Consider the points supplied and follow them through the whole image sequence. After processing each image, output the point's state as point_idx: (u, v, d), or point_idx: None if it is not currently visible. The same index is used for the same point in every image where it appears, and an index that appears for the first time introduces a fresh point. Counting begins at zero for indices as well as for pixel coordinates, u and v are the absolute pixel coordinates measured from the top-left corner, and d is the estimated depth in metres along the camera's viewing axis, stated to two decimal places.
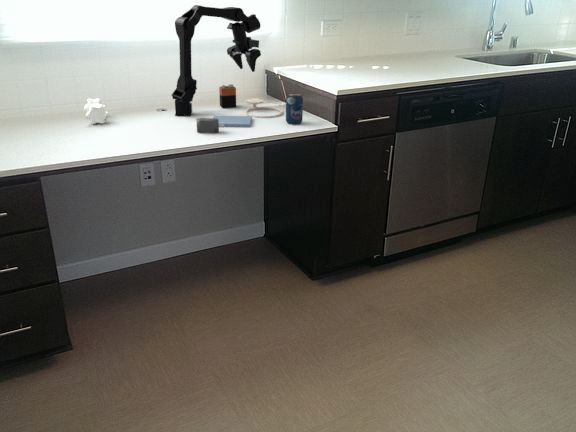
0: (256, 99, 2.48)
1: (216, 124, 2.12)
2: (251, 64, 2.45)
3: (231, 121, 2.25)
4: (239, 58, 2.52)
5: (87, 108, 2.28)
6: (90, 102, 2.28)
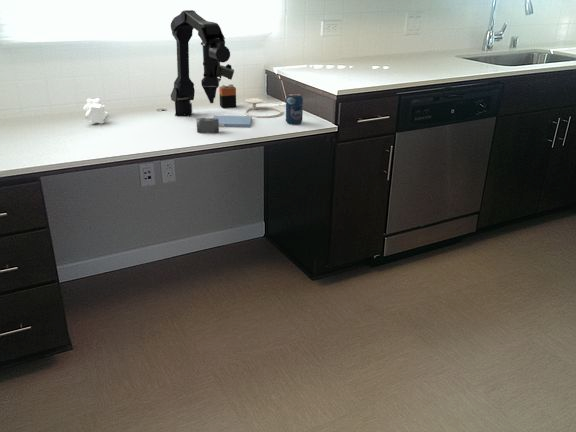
0: (255, 99, 2.48)
1: (216, 124, 2.12)
2: (208, 93, 2.03)
3: (231, 121, 2.25)
4: None
5: (87, 108, 2.28)
6: (90, 102, 2.27)
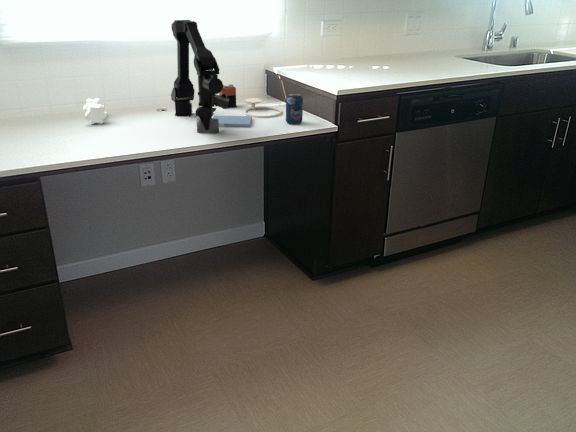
0: (255, 99, 2.48)
1: (216, 124, 2.12)
2: (203, 120, 2.09)
3: (231, 121, 2.25)
4: None
5: (86, 108, 2.28)
6: (89, 102, 2.27)
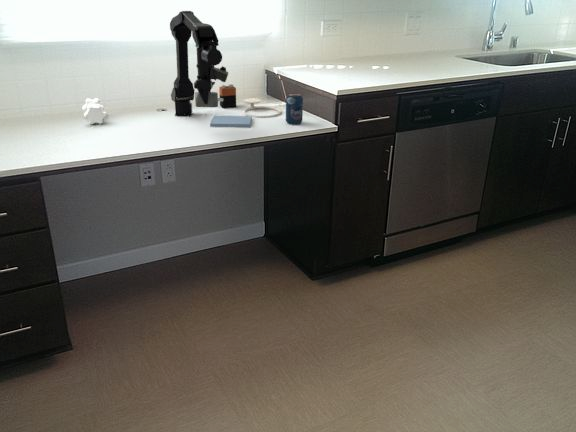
0: (253, 99, 2.48)
1: (215, 98, 2.07)
2: (202, 94, 2.05)
3: (231, 121, 2.25)
4: None
5: (85, 108, 2.28)
6: (88, 102, 2.27)
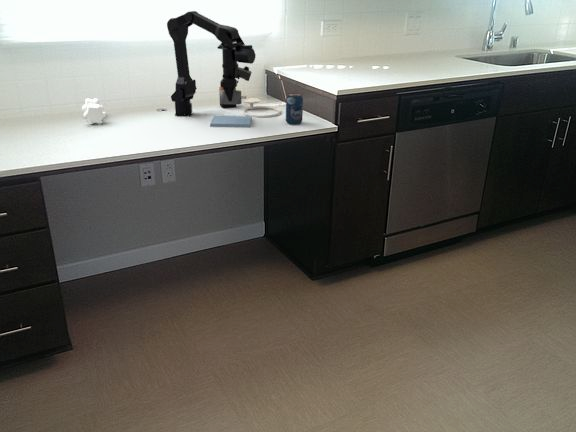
0: (253, 99, 2.48)
1: (239, 95, 2.21)
2: (227, 92, 2.18)
3: (231, 121, 2.25)
4: None
5: (85, 108, 2.28)
6: (88, 102, 2.27)
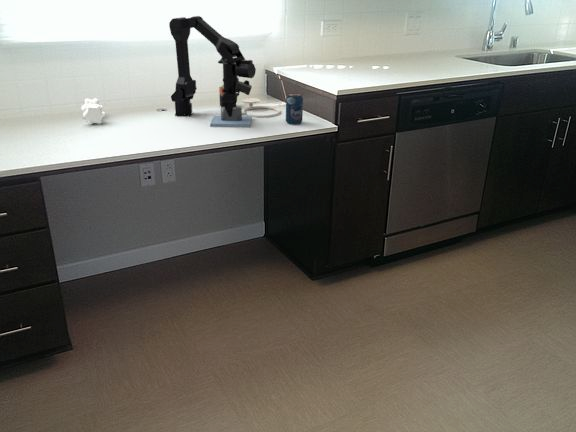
0: (252, 99, 2.49)
1: (239, 112, 2.24)
2: (226, 107, 2.19)
3: (231, 121, 2.25)
4: None
5: (84, 108, 2.28)
6: (87, 102, 2.27)
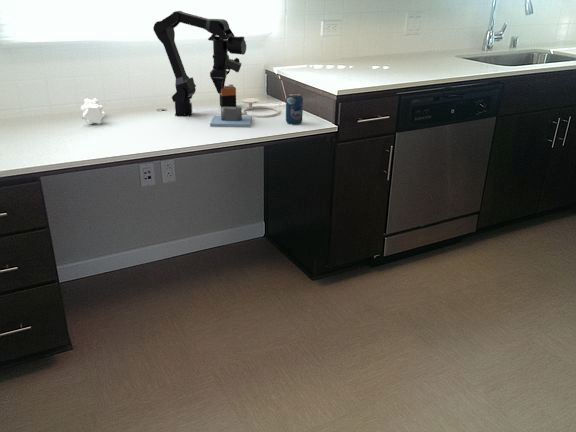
0: (252, 99, 2.49)
1: (239, 112, 2.24)
2: (216, 84, 2.21)
3: (231, 121, 2.25)
4: None
5: (84, 108, 2.28)
6: (87, 102, 2.27)
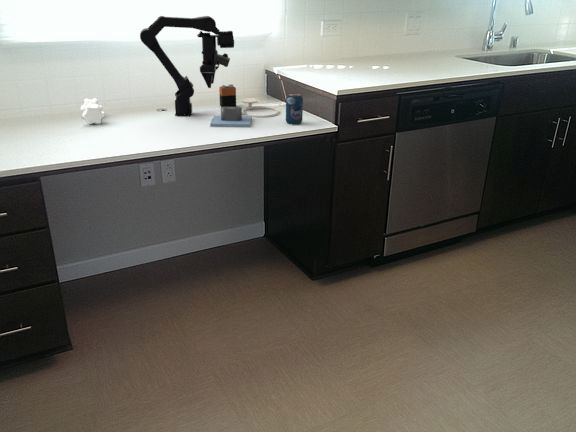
0: (251, 99, 2.49)
1: (239, 112, 2.24)
2: (205, 78, 2.28)
3: (231, 121, 2.25)
4: None
5: (84, 108, 2.27)
6: (87, 102, 2.27)
